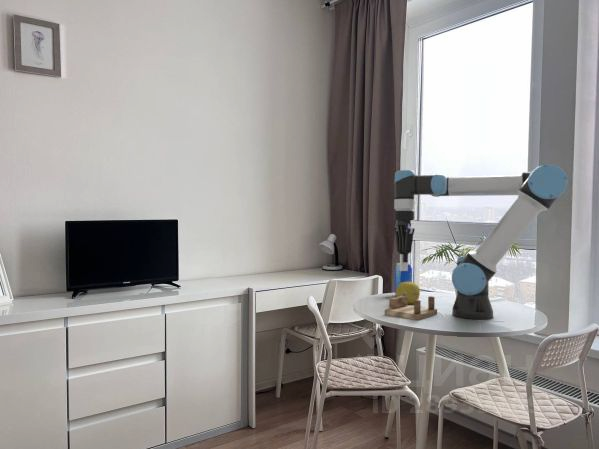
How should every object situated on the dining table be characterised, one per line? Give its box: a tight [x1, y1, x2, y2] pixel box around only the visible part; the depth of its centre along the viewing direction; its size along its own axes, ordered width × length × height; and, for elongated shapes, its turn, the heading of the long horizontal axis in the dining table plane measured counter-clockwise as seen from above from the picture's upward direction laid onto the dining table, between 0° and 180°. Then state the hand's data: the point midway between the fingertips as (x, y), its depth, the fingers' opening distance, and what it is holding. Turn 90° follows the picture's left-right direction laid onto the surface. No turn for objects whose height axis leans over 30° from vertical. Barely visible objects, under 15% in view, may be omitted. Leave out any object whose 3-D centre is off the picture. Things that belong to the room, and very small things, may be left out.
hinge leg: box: [388, 293, 408, 309], centre depth 190 cm, size 11×2×5 cm, turn 137°
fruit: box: [395, 281, 421, 305], centre depth 209 cm, size 10×11×10 cm
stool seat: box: [384, 295, 438, 321], centre depth 185 cm, size 15×15×7 cm
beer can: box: [394, 262, 413, 295], centre depth 229 cm, size 8×8×16 cm
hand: (403, 270), depth 181 cm, fingers closed
